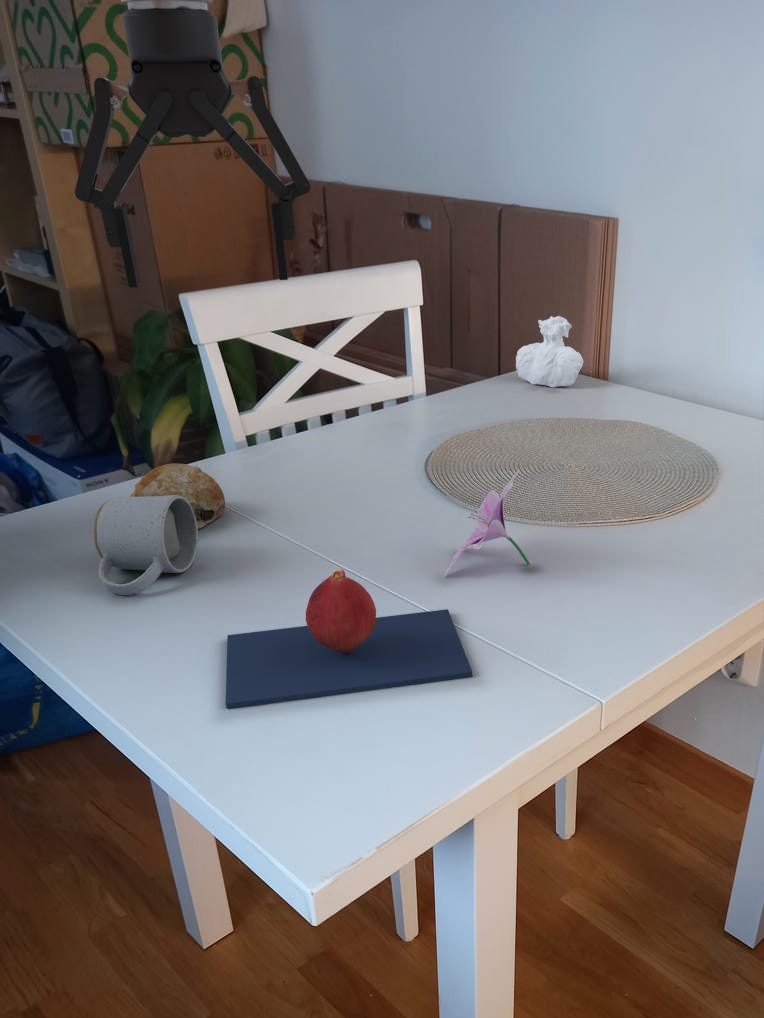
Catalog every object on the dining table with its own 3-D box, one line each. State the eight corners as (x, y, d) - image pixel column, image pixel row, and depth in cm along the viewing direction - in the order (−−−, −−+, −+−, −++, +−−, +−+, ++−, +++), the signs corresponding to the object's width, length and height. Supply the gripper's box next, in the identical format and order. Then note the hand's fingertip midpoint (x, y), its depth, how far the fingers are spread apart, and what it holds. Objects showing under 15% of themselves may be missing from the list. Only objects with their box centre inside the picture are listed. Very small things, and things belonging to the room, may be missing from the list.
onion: (307, 671, 77) (295, 586, 73) (315, 636, 82) (305, 554, 78) (376, 669, 77) (369, 584, 73) (380, 634, 82) (374, 552, 78)
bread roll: (170, 568, 103) (180, 514, 98) (106, 515, 105) (112, 459, 100) (234, 535, 110) (247, 484, 105) (173, 486, 112) (182, 433, 107)
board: (226, 709, 73) (225, 703, 73) (228, 639, 82) (227, 634, 82) (472, 676, 77) (472, 671, 77) (448, 613, 86) (447, 608, 86)
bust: (582, 400, 151) (603, 335, 151) (567, 380, 144) (589, 312, 144) (518, 390, 156) (539, 327, 157) (501, 370, 149) (522, 305, 150)
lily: (502, 537, 103) (457, 468, 98) (586, 523, 94) (542, 447, 90) (448, 610, 96) (398, 539, 92) (534, 602, 88) (483, 523, 83)
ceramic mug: (131, 548, 99) (115, 481, 95) (204, 552, 98) (191, 484, 94) (82, 597, 90) (62, 525, 86) (161, 601, 89) (145, 528, 85)
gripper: (-5, 4, 71) (63, 295, 82) (324, 5, 75) (346, 281, 86) (16, 11, 77) (76, 280, 88) (318, 11, 81) (339, 268, 92)
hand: (210, 281), depth 87 cm, fingers open, 13 cm apart
